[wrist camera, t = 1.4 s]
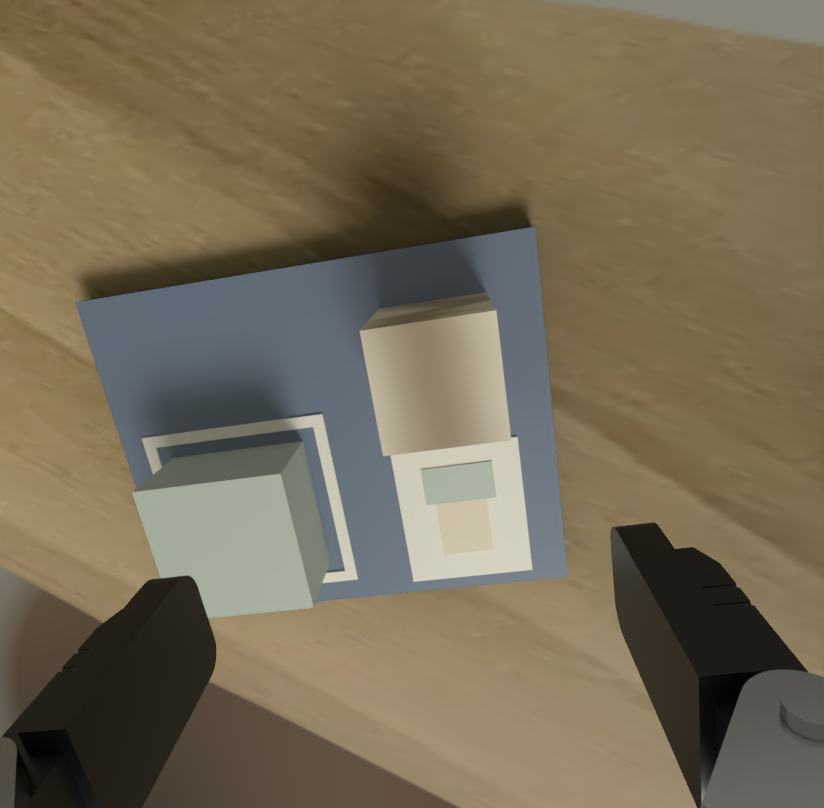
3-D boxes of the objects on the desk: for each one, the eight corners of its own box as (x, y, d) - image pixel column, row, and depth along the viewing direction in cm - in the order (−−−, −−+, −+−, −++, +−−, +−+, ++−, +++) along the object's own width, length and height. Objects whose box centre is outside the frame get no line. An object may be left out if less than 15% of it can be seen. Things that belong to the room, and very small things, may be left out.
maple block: (485, 292, 26) (496, 310, 20) (497, 395, 27) (511, 440, 21) (378, 308, 26) (359, 331, 20) (396, 409, 28) (383, 456, 22)
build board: (531, 226, 26) (535, 226, 25) (563, 563, 31) (568, 578, 30) (90, 299, 28) (73, 302, 27) (187, 602, 33) (177, 617, 32)
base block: (303, 440, 28) (280, 473, 25) (330, 560, 30) (313, 607, 27) (173, 457, 29) (132, 492, 25) (208, 573, 31) (175, 621, 27)
